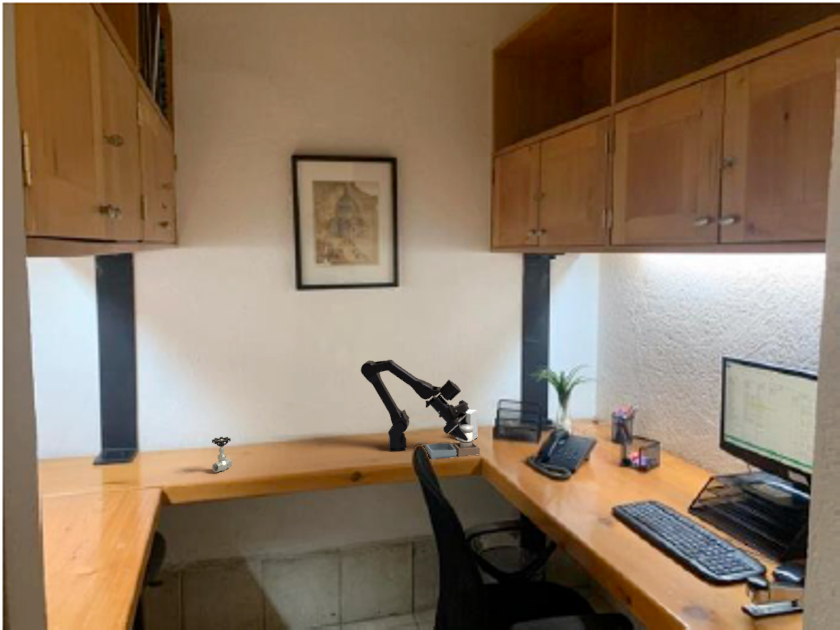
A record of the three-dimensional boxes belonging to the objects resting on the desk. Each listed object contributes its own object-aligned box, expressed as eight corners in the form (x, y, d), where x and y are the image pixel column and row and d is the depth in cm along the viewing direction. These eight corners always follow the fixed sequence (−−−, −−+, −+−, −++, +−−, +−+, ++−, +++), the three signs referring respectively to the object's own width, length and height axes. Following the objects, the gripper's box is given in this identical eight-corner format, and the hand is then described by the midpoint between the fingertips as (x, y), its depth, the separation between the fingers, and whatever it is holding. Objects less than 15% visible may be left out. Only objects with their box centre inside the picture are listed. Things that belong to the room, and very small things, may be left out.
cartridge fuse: (461, 455, 255) (461, 428, 254) (458, 451, 260) (458, 424, 259) (474, 454, 256) (474, 427, 255) (470, 450, 261) (470, 424, 260)
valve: (209, 471, 236) (208, 440, 235) (222, 466, 242) (221, 435, 241) (222, 474, 233) (221, 442, 232) (235, 469, 239) (234, 438, 237)
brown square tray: (458, 456, 253) (458, 449, 252) (453, 450, 261) (453, 443, 261) (479, 455, 255) (479, 447, 254) (473, 448, 263) (473, 441, 263)
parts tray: (431, 459, 250) (431, 451, 249) (426, 451, 259) (426, 444, 259) (456, 457, 252) (456, 450, 252) (449, 449, 262) (449, 442, 261)
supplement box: (478, 438, 278) (478, 410, 276) (470, 442, 271) (470, 413, 270) (463, 435, 282) (463, 407, 280) (455, 440, 275) (455, 411, 274)
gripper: (451, 400, 248) (479, 430, 246) (461, 390, 266) (487, 418, 264) (431, 418, 251) (459, 448, 249) (443, 407, 269) (469, 435, 267)
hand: (469, 436), depth 257 cm, fingers open, 9 cm apart
